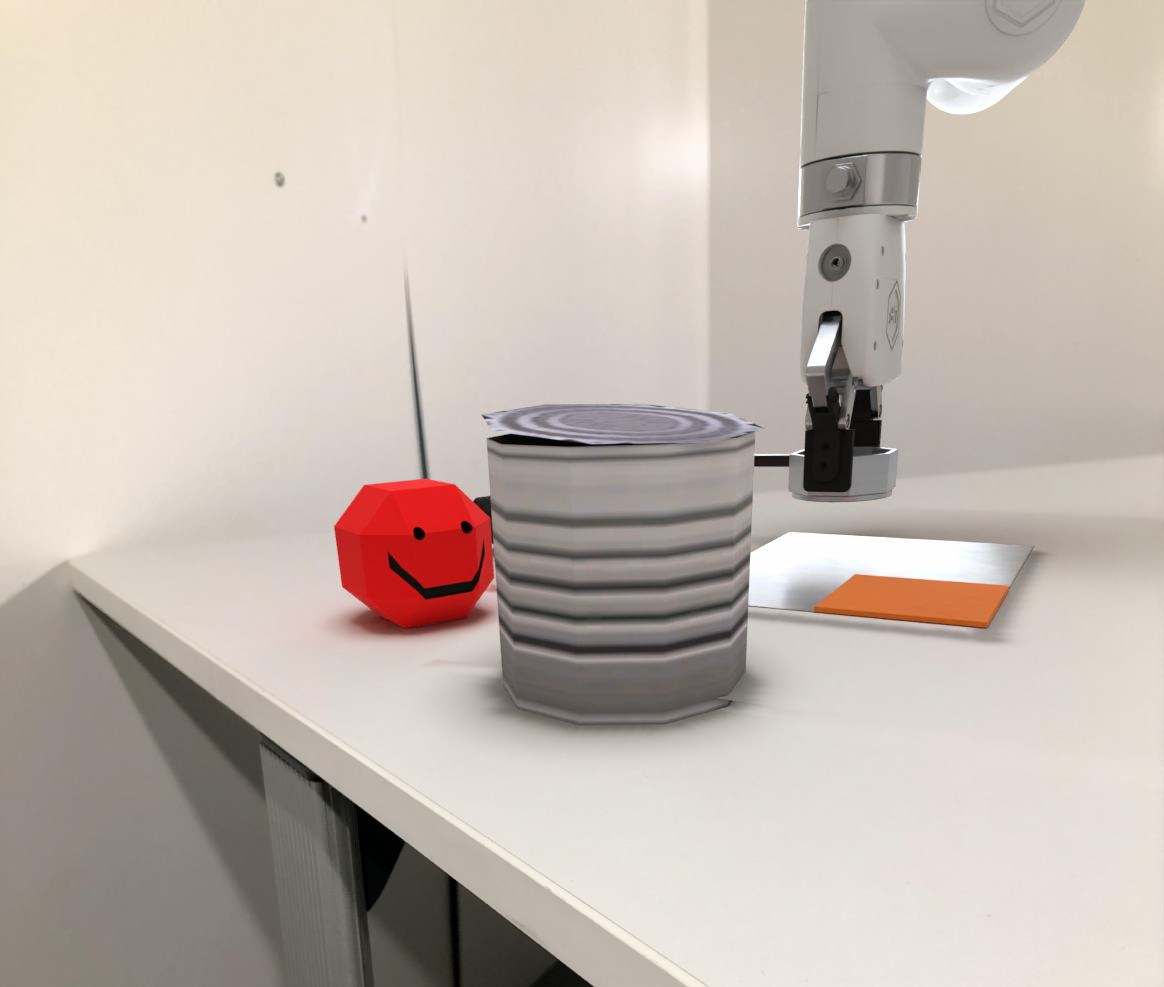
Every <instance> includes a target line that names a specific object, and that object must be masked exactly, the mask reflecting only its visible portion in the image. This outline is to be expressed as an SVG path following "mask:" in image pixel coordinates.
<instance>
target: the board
mask: <svg viewBox="0 0 1164 987" xmlns="http://www.w3.org/2000/svg"><path fill="white" fill-rule="evenodd" d="M1034 548H1035V546H1034V545H1029V544H1012V543H992V542H975V541H974V542H973V541H957V540H942V539H941V540H939V539H924V538H923V539H921V538H920V539H919V538H902V537H887V536H867V535H851V534H850V535H849V534H835V533H834V534H832V533H829V534H828V533H815V532H797V531H789V532H788V531H787V532H786V533H784V534H783V535H780V536H779V537H777V538H775V539H774V540H771V541H770V542H768V543H766V544H764V545H762V546H760V547H759V548H757V549H754V550H753V551H751V552H750V576H749V601H748V608H760V609H771V610H781V611H782V610H783V611H790V612H791V611H792V612H803V613H811V614H812V613H813V614H823V615H835V616H843V617H844V616H845V617H846V616H847V617H856V618H865V619H866V618H867V619H876V620H886V621H887V620H888V621H897V622H907V623H909V622H910V623H920V624H930V625H940V626H941V625H942V626H951V627H963V628H973V629H983V630H987V628H989V627H990V624H991V622H992V621H993V619H994V617H995V615H996V613H997V612H998V611H999V608H1000V606H1001V605H1002V603H1003V602H1004V599H1005V598H1006V596H1007V595H1008V592H1010V590H1011V588H1012V585H1013V584H1014V582H1015V581H1016V579H1017V577H1018V575H1019V574H1020V572H1021V570H1022V568H1023V567H1024V565H1025V563H1026V561H1027V560H1028V558H1029V557H1030V554H1031V553H1032V551H1033V550H1034ZM855 574H860V575H873V576H887V577H900V578H914V579H927V580H941V581H954V582H968V583H981V584H995V585H1008V586H1009V590H1008V592H1007V593H1006V595H1005V597H1004V599H1003V600H1002V602H1001V604H1000V606H999V607H998V609H997V611H996V612H995V614H994V616H993V618H992V619H991V621H990V623H989V625H988V626H987V628H983V627H973V626H962V625H951V624H941V623H930V622H919V621H909V620H898V619H887V618H876V617H866V616H855V615H844V614H834V613H823V612H814V607H815V606H816V605H817V604H818V603H820V602H821V601H822V600H823V599H825V598H826V597H827V596H828V595H830V594H831V593H832V592H833V591H835V590H836V589H837V588H838V587H840V586H841V585H842V584H843V583H845V582H846V581H847V580H849V579H850V578H851V577H852V576H854V575H855Z"/></svg>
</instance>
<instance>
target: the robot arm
mask: <svg viewBox="0 0 1164 987" xmlns="http://www.w3.org/2000/svg"><path fill="white" fill-rule="evenodd" d="M1085 2H1086V0H805V3H804V4H805V5H804V21H803V22H804V23H803V24H804V25H803V26H804V27H803V56H802V82H801V83H802V84H801V86H802V87H801V110H800V111H801V112H800V114H801V115H800V139H799V140H800V143H799V150H800V151H799V152H800V154H799V172H798V201H797V203H798V204H797V227H796V228H797V230H800V231H808V235H807V236H808V238H807V245H806V255H805V265H804V266H805V267H804V277H803V288H802V290H803V291H802V302H801V315H800V316H801V318H800V319H801V320H800V340H799V369H800V371H799V372H800V379H801V381H802V382H803V383H804V385H806V387H807V391H808V392H807V393H806V395H805V400H806V401H805V404H806V405H807V407H806V412H805V417H804V428H805V430H804V432H805V433H804V449H803V450H804V474H803V488H804V490H805V491H807V492H846V491H848V490H849V489H850V488H851V483H852V467H853V450H854V447H881V438H882V425H883V424H882V423H883V419H881V418H882V414H883V393H882V392H883V389H884V385H888V384H891V383H894V382H895V381H896V380H897V379H898V378H899V377H900V376H901V375H902V371H903V361H904V360H903V359H904V335H905V334H904V333H905V308H906V307H905V306H906V283H907V282H906V281H907V278H906V277H907V273H906V272H907V252H906V251H907V249H906V248H907V247H906V246H907V244H906V243H907V242H906V228H905V224H906V223H908V222H909V223H910V222H911V221H915V220H916V219H918V212H919V208H918V207H919V195H920V185H921V184H920V183H921V173H922V172H921V171H922V157H923V150H924V147H923V146H924V137H925V125H926V124H925V123H926V111H927V101H928V102H929V103H930V104H931V105H933V106H934V107H935V108H937V109H938V110H940V111H943V112H946V113H948V114H951V115H953V114H954V115H970V114H975V113H978V112H981V111H984V110H986V109H988V108H991V107H992V106H994V105H995V104H997V103H998V102H1000V101H1001V100H1003V98H1005V97H1006V96H1007V95H1008V94H1009V93H1010V92H1012V91H1013V90H1014V89H1015V88H1016V87H1018V86H1019V85H1020V84H1022V83H1023V82H1024V81H1026V80H1027V79H1028V78H1029V77H1031V76H1032V75H1033V74H1034V73H1035V72H1036V71H1038V70H1039V69H1041V67H1042V66H1044V65H1045V64H1046V63H1047V62H1048V61H1049V60H1051V58H1052V57H1053V56H1054V55H1055V54H1056V53H1057V52H1058V50H1060V49H1061V47H1062V46H1063V45H1064V43H1065V42H1066V41H1067V40H1068V38H1069V36H1071V34H1072V32H1073V31H1074V30H1075V29H1074V28H1075V27H1076V25H1077V23H1078V21H1079V19H1080V17H1081V14H1082V12H1083V9H1084V6H1085Z"/></svg>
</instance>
